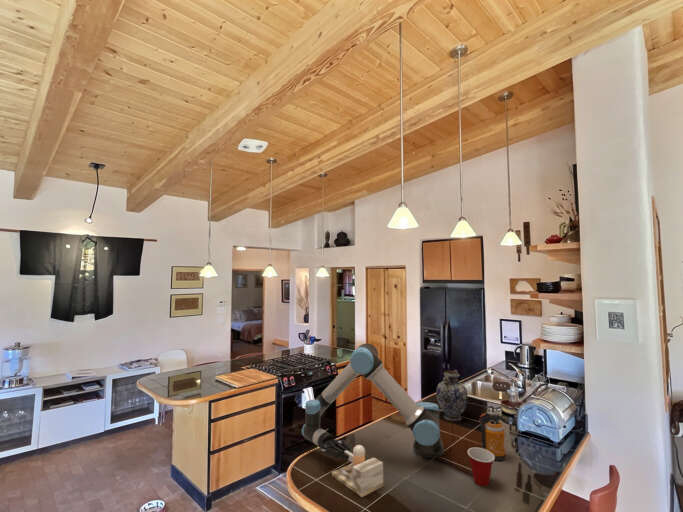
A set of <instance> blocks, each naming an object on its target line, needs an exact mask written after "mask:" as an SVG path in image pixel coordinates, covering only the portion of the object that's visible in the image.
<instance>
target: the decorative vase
mask: <svg viewBox="0 0 683 512" xmlns="http://www.w3.org/2000/svg"><path fill="white" fill-rule="evenodd" d="M442 374H443V376H444V377H442V378H443V380H442V381H441V382H439V383H438V384H437V386H436V389H435V391H436V392H435V394H436V400H437V403H438V406H439V409H440V410H441V411H442V412H443V413H444V415H443V419H445V420H446V421H450V422H459V421H461V420H462V416H461V414H463V413H464V411H465V409H466V408H467V404H468V395H469V394H468V389H467V387H466V386H465V385H464V384H463V383H462V382H460V381H459V379H458V378H459V377H460V376H461V375H460V373H459V371H458V370H457V369H454V370H445V371H444V372H443V373H442Z"/></svg>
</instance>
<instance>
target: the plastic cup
mask: <svg viewBox="0 0 683 512" xmlns="http://www.w3.org/2000/svg"><path fill="white" fill-rule="evenodd" d="M467 455H468V457H469V461H470V467H471V473H472V476H473V481H474V483H475V484H476V485H478V486H479V487H487V486H489V485H490V479H491V473H492V468H493V467H492V466H493V463H494V459H495V457H494V455H493V454H492V453H491V452H490V451H488V450H485V448H483V447H476V446H475V447H470V448H468V450H467Z"/></svg>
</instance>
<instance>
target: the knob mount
mask: <svg viewBox="0 0 683 512" xmlns="http://www.w3.org/2000/svg"><path fill="white" fill-rule="evenodd" d="M331 476H332V477H333V478H335V480H337V481H339V482H340V483H341V484H343V485H344V486H345V487H347V488H348V489H350V490H351V491H353V492H354V493H355V494H357V495H358V496H359V497H360V498H363V497H365V496H367V495H369V494H371V493H373V492H375V491H376V490H378V489H380V488H382V487H384V462H383V461H381V460H379V459H378V458H376V457H372V458H369V459H366V460H365V462H362V463H360V464H358V465H356V466H353V463H352V462H351V463H350V464H348V465H346V466H343V467H341V468H338V469H336V470H334V471H331Z"/></svg>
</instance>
